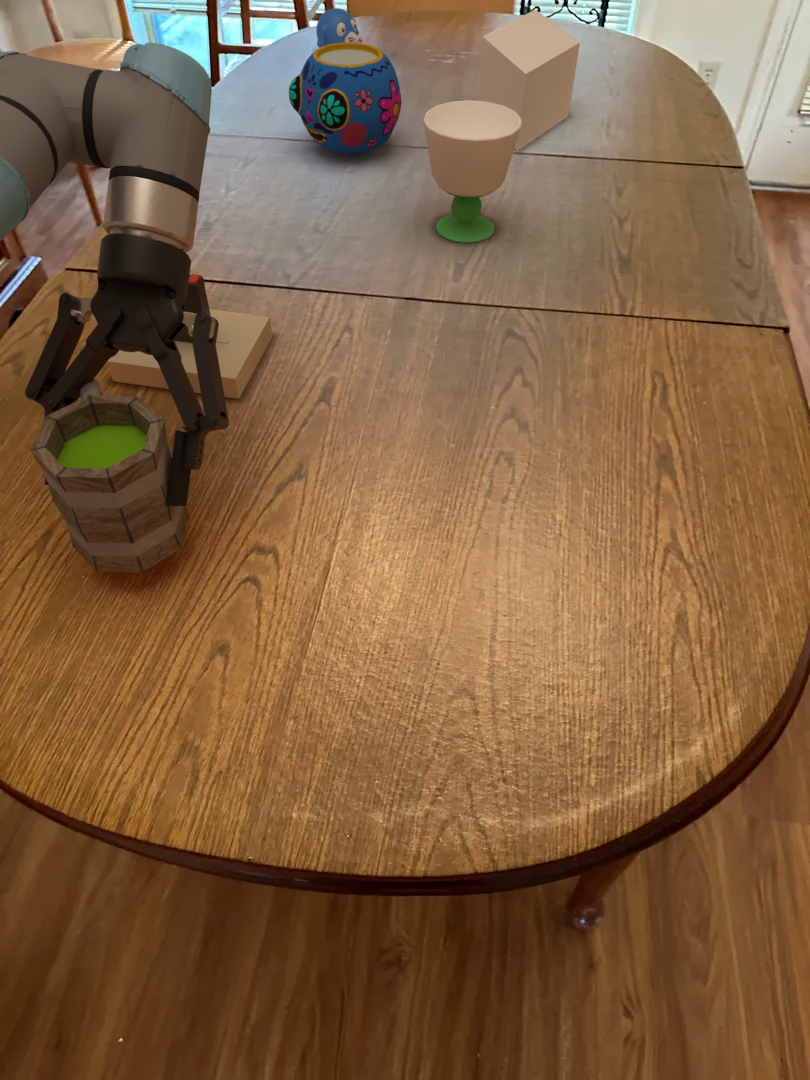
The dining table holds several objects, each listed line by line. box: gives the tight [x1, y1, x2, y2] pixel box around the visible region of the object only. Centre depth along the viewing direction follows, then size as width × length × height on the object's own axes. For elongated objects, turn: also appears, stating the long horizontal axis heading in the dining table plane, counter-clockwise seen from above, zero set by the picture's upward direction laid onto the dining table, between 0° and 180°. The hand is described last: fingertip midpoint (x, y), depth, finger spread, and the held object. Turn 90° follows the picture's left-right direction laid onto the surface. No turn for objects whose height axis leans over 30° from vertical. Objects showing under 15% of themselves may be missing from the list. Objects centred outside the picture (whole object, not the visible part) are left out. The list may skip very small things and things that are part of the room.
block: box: [477, 9, 581, 152], centre depth 146 cm, size 18×35×12 cm, turn 171°
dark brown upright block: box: [174, 273, 211, 343], centre depth 93 cm, size 6×2×8 cm, turn 79°
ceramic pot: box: [288, 42, 402, 156], centre depth 133 cm, size 18×18×15 cm
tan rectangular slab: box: [106, 308, 273, 400], centre depth 97 cm, size 16×13×3 cm
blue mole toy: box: [315, 7, 364, 49], centre depth 166 cm, size 12×12×8 cm
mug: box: [29, 378, 190, 573], centre depth 71 cm, size 16×11×12 cm
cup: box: [422, 99, 522, 244], centre depth 114 cm, size 14×14×16 cm
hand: (116, 495), depth 70 cm, fingers closed on mug, 11 cm apart
